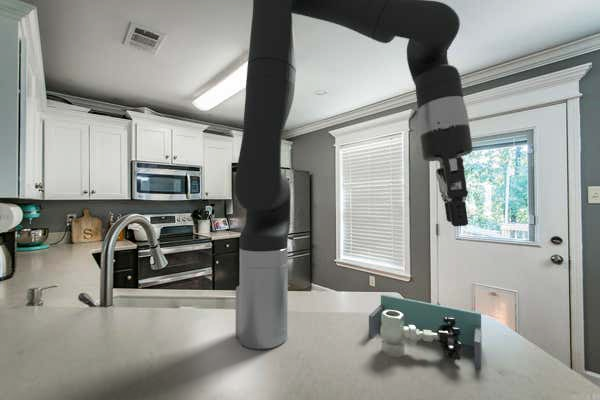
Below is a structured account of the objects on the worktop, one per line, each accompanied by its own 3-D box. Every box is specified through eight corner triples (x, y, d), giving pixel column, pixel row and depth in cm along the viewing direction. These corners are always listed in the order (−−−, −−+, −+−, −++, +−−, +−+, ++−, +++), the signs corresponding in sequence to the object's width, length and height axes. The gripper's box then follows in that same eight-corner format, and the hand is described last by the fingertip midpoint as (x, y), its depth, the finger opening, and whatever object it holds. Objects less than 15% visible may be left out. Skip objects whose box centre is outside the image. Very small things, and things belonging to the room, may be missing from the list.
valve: (382, 361, 44) (462, 369, 42) (382, 320, 44) (462, 326, 42) (378, 341, 50) (447, 347, 48) (378, 305, 51) (447, 310, 48)
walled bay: (368, 336, 52) (368, 305, 52) (382, 321, 59) (381, 294, 59) (480, 368, 42) (480, 329, 42) (481, 346, 48) (481, 312, 48)
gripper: (420, 142, 54) (431, 222, 54) (419, 124, 41) (434, 229, 41) (462, 134, 51) (475, 218, 51) (476, 112, 38) (493, 225, 38)
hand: (456, 223), depth 46 cm, fingers open, 8 cm apart
